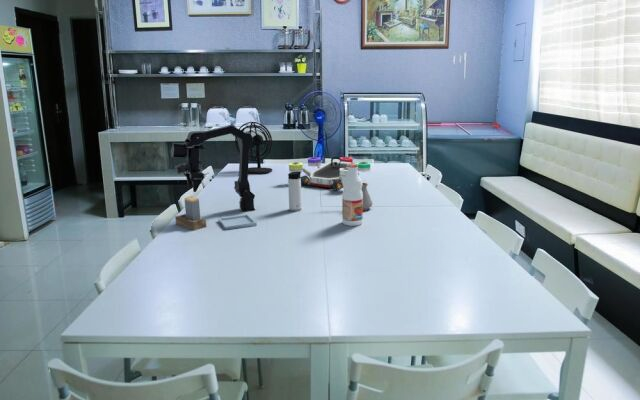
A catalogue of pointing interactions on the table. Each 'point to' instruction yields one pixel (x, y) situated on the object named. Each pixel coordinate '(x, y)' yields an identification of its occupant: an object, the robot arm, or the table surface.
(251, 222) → the slate tray
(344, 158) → the cart
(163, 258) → the table surface
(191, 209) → the grey upright block piece
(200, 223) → the walnut bay
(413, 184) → the table surface
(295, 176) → the travel mug
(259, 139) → the desk fan
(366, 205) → the coffee pot
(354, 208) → the fruit juice
